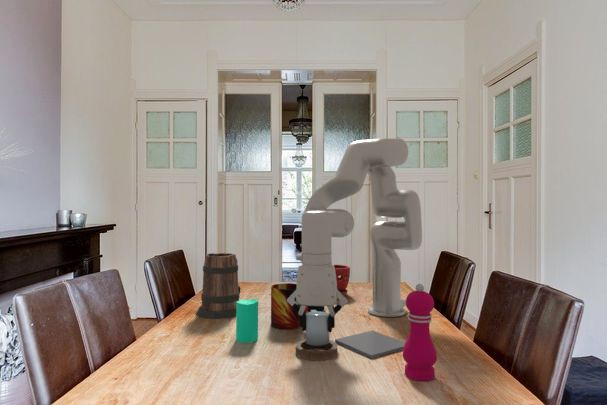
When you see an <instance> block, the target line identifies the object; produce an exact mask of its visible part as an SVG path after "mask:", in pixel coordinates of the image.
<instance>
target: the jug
mask: <svg viewBox="0 0 607 405" xmlns="http://www.w3.org/2000/svg"><path fill="white" fill-rule="evenodd" d="M328 316H329V312H325V311H322V312H320V311H316V310H311V312H308V313H306V330H305V339H306V343H307V344H309V345H315V346H321V345H326V344H328V343H329V340H330V332H328Z"/></svg>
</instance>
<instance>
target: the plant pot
mask: <svg viewBox="0 0 607 405" xmlns="http://www.w3.org/2000/svg"><path fill="white" fill-rule="evenodd" d="M334 267H335V272H336V281H337V290H338V291H339V292H340V293H341V294H342V295H343V296H344V297H345V296H346V295H347V294H348V289H347V287H348V285H349V282H350V277H351V276H350V275H351V267H350V266H349V265H345V264H334Z"/></svg>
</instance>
